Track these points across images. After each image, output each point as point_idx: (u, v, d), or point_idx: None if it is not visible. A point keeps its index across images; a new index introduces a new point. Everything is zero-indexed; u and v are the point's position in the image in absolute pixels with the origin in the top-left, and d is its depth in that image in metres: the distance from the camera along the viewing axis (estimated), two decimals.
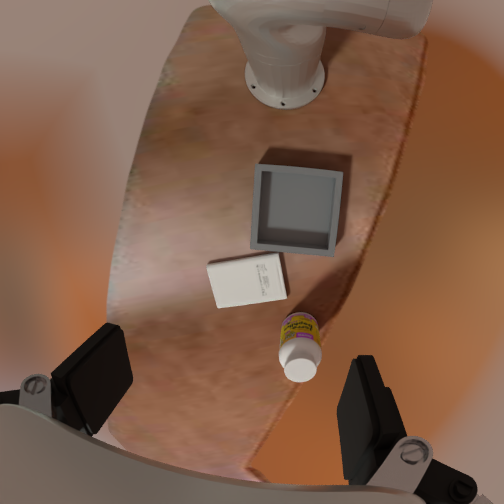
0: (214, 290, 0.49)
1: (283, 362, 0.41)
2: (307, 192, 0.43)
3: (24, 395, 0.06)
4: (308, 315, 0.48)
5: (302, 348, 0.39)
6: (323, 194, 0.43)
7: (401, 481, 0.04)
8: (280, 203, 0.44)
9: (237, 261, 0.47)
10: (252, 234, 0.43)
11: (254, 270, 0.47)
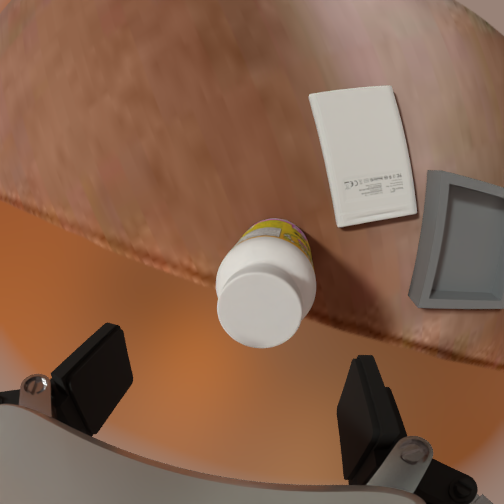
0: (348, 92, 0.21)
1: (254, 254, 0.17)
2: (484, 259, 0.23)
3: (24, 395, 0.06)
4: None
5: (301, 297, 0.17)
6: (478, 280, 0.24)
7: (401, 481, 0.04)
8: (478, 221, 0.22)
9: (404, 141, 0.22)
10: (460, 178, 0.20)
11: (391, 169, 0.23)
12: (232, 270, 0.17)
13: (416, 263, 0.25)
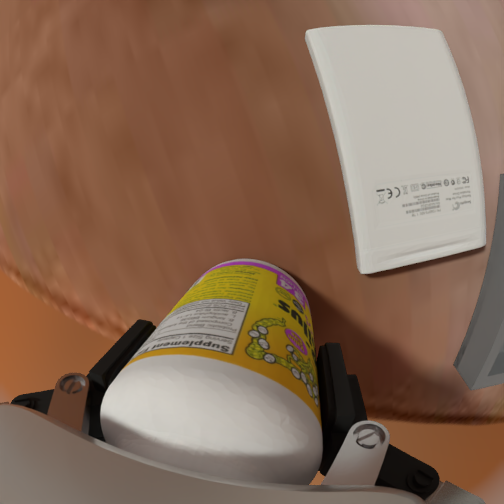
0: (375, 30, 0.10)
1: (156, 419, 0.05)
2: None
3: (61, 395, 0.06)
4: None
5: None
6: None
7: (352, 463, 0.05)
8: None
9: (471, 121, 0.10)
10: None
11: (455, 169, 0.11)
12: (116, 432, 0.05)
13: (473, 321, 0.13)
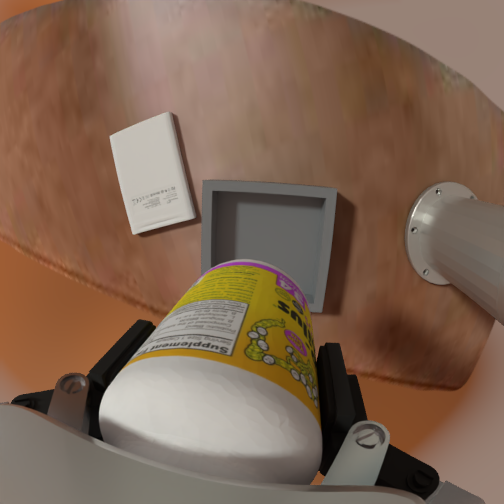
0: (133, 128, 0.28)
1: (154, 421, 0.05)
2: (291, 260, 0.31)
3: (61, 395, 0.06)
4: None
5: None
6: None
7: (352, 463, 0.05)
8: (274, 221, 0.30)
9: (177, 157, 0.29)
10: (225, 183, 0.27)
11: (166, 184, 0.29)
12: (114, 434, 0.05)
13: None
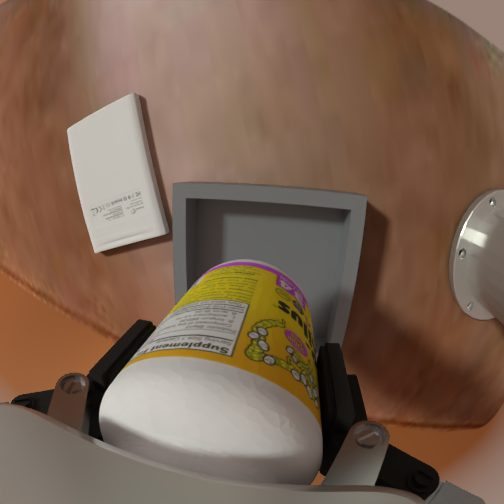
0: (92, 117, 0.20)
1: (155, 421, 0.05)
2: None
3: (61, 395, 0.06)
4: None
5: None
6: None
7: (352, 463, 0.05)
8: (276, 240, 0.21)
9: (143, 152, 0.20)
10: (204, 187, 0.18)
11: (129, 189, 0.21)
12: (115, 435, 0.05)
13: None
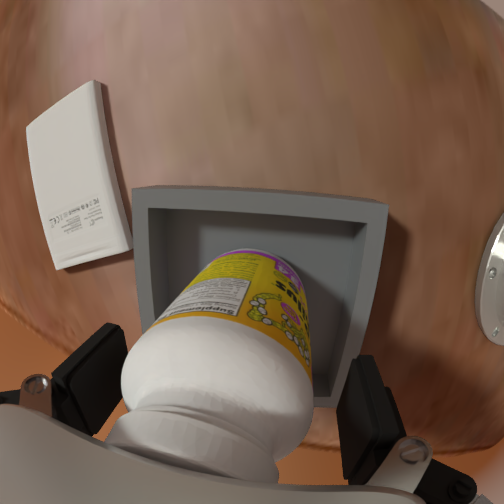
0: (49, 112, 0.15)
1: (174, 367, 0.07)
2: None
3: (24, 395, 0.06)
4: None
5: (280, 443, 0.07)
6: None
7: (401, 481, 0.04)
8: None
9: (101, 150, 0.16)
10: (170, 193, 0.14)
11: (87, 195, 0.16)
12: (136, 387, 0.07)
13: None
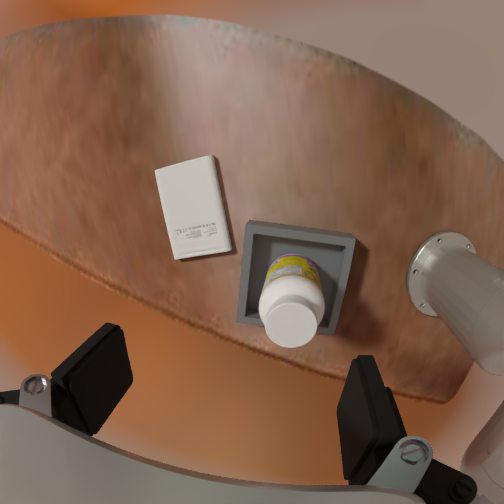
0: (178, 166, 0.34)
1: (288, 288, 0.26)
2: None
3: (24, 395, 0.06)
4: None
5: None
6: None
7: (401, 481, 0.04)
8: None
9: (218, 198, 0.35)
10: (265, 228, 0.33)
11: (207, 220, 0.36)
12: (272, 297, 0.26)
13: None
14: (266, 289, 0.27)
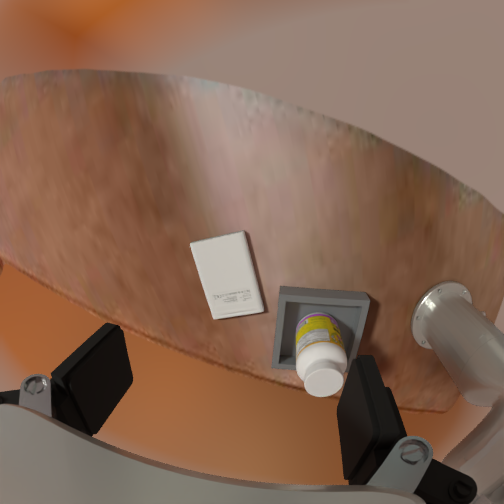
0: (212, 241, 0.40)
1: (320, 354, 0.31)
2: None
3: (24, 395, 0.06)
4: None
5: None
6: None
7: (401, 481, 0.04)
8: None
9: (251, 269, 0.40)
10: (296, 297, 0.38)
11: (242, 287, 0.41)
12: (308, 361, 0.32)
13: None
14: (302, 354, 0.33)
